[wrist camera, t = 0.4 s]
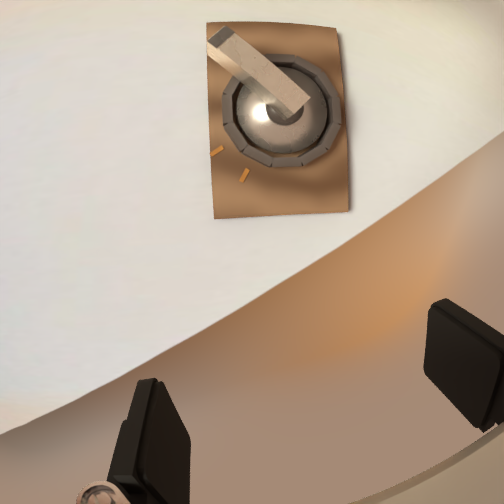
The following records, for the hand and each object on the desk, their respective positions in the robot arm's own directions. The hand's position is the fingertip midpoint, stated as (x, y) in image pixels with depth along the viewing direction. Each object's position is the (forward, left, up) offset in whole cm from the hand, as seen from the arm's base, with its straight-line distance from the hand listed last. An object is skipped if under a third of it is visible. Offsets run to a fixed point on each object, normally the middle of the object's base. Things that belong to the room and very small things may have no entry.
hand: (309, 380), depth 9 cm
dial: (-15, +3, -27) cm, 31 cm away
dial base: (-13, +5, -29) cm, 32 cm away
